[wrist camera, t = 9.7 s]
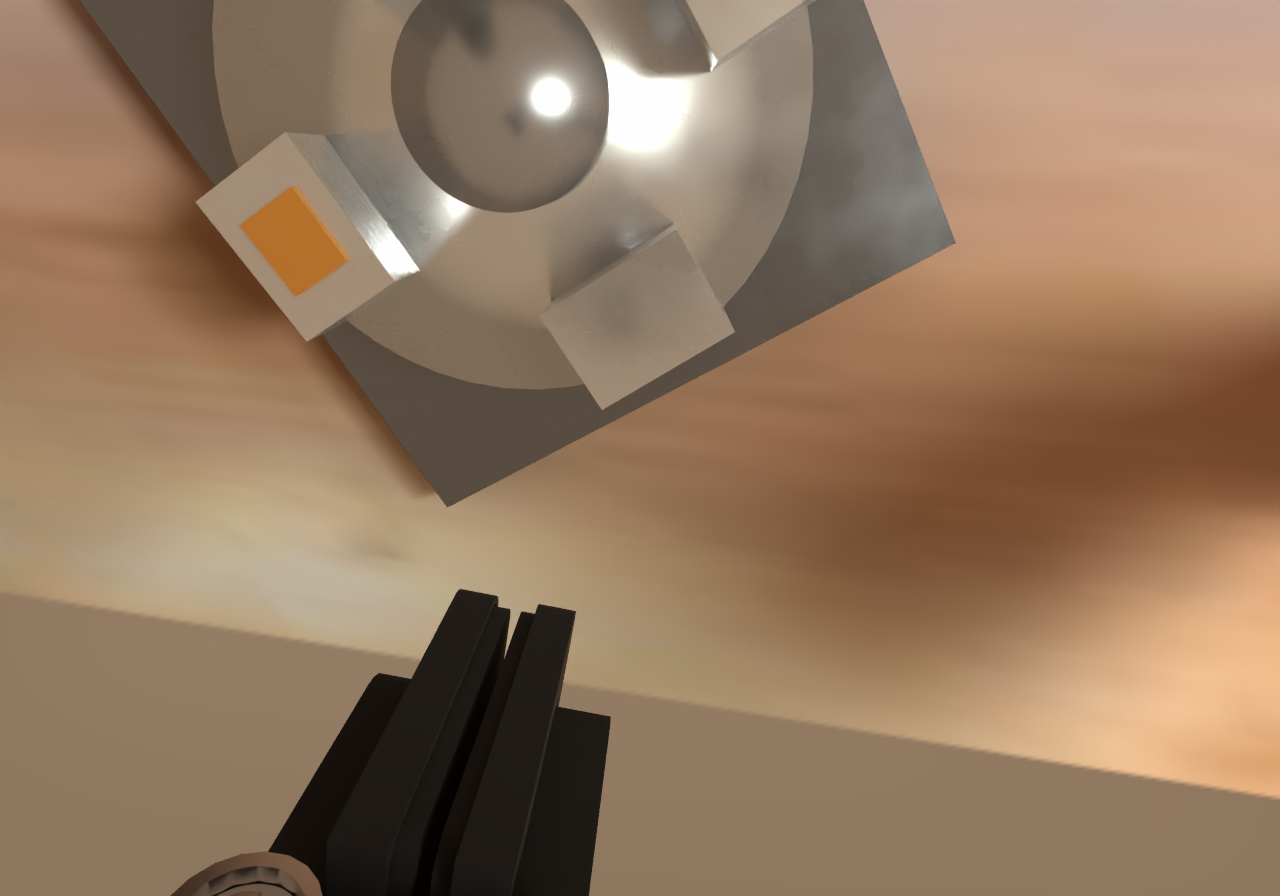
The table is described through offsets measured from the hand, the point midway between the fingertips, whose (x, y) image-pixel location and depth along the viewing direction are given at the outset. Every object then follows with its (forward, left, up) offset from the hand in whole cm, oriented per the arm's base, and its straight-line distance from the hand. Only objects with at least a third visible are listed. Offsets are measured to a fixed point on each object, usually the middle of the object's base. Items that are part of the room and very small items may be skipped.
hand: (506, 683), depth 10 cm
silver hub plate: (-2, -9, -18) cm, 20 cm away
